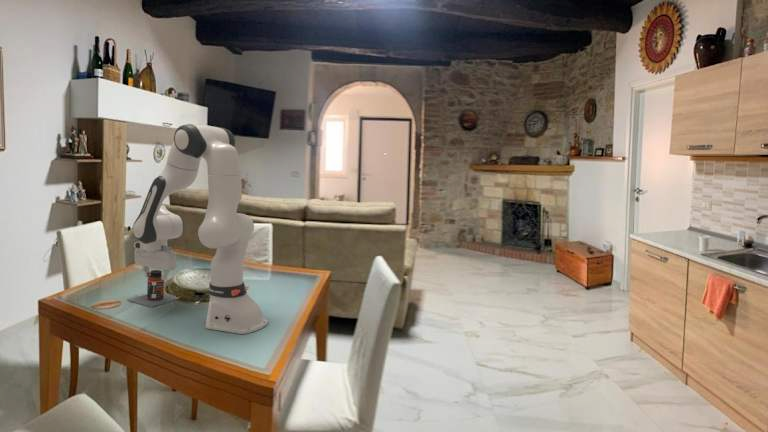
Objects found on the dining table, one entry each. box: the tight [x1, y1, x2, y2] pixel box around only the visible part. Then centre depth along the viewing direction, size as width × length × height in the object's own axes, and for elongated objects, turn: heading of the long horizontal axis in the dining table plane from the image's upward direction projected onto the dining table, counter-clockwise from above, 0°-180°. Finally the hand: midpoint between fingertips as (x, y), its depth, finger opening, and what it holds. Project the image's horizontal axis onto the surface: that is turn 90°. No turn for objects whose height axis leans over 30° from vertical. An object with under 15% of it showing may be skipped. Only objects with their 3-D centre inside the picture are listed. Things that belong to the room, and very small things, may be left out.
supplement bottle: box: [146, 269, 165, 300], centre depth 183 cm, size 6×6×11 cm
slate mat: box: [126, 292, 180, 308], centre depth 184 cm, size 14×14×1 cm
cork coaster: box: [90, 299, 123, 310], centre depth 175 cm, size 10×10×1 cm
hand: (156, 278), depth 183 cm, fingers open, 8 cm apart
